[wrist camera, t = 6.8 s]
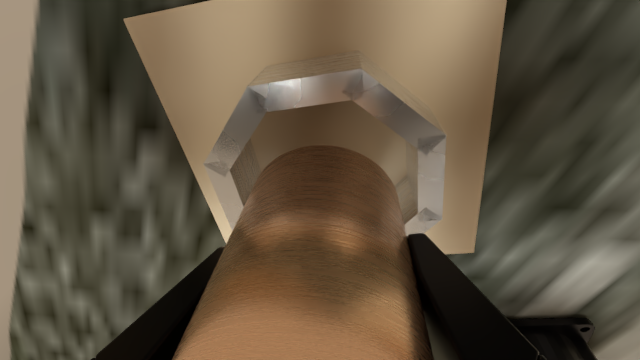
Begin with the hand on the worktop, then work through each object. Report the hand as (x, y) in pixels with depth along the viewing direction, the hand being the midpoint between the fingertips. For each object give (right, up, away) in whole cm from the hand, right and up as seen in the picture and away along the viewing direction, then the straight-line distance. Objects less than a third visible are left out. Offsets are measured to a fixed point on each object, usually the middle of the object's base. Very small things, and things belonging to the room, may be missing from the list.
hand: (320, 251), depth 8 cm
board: (0, +3, +5) cm, 6 cm away
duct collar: (0, +3, +4) cm, 5 cm away
